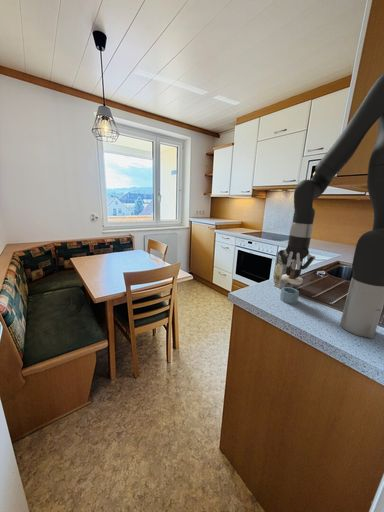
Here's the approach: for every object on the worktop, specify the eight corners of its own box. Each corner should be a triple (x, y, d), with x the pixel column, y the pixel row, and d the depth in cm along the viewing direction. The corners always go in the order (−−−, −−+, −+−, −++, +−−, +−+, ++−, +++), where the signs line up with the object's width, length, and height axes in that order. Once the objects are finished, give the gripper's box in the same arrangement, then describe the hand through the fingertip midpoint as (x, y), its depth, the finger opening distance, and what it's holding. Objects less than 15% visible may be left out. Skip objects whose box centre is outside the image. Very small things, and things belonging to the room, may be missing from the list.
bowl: (299, 300, 89) (301, 291, 88) (292, 305, 85) (294, 295, 84) (284, 295, 94) (286, 285, 93) (277, 299, 90) (278, 289, 89)
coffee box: (272, 281, 110) (277, 251, 105) (284, 281, 110) (290, 251, 105) (279, 288, 101) (284, 256, 96) (292, 289, 101) (298, 256, 96)
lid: (305, 280, 87) (307, 270, 86) (297, 285, 82) (300, 274, 81) (286, 275, 93) (288, 265, 92) (277, 279, 88) (279, 269, 86)
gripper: (323, 236, 80) (313, 279, 85) (286, 231, 89) (280, 269, 94) (316, 238, 75) (306, 284, 80) (278, 232, 84) (271, 273, 89)
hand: (292, 276), depth 87 cm, fingers closed on lid, 2 cm apart
